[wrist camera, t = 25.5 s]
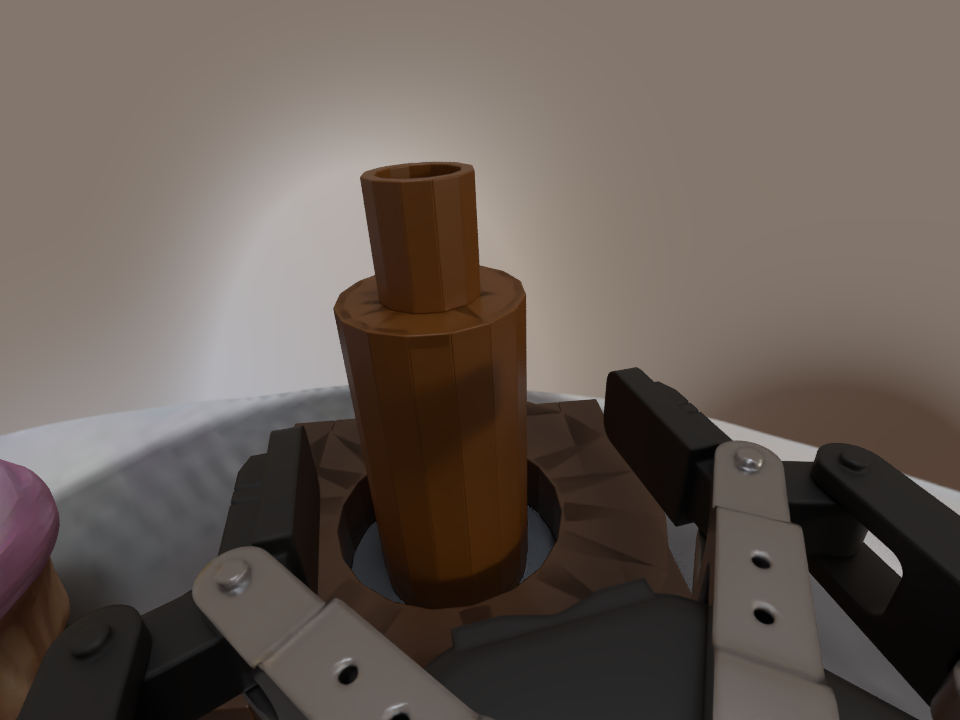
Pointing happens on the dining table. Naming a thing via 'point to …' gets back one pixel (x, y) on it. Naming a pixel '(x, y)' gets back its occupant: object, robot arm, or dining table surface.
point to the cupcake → (26, 583)
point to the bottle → (438, 389)
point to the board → (550, 490)
